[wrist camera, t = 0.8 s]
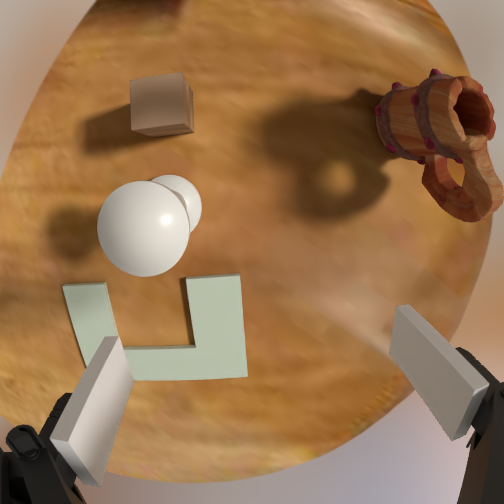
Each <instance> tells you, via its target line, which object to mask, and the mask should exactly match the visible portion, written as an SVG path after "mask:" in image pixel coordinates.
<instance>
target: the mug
mask: <svg viewBox="0 0 504 504" xmlns="http://www.w3.org/2000/svg"><path fill="white" fill-rule="evenodd" d="M374 111H375V114H376V125H377V131H378V133H379V136H380V138H381V140H382V142H383V144H384V145H385V146H386V149H387V151H388V152H390V153H395V154H396V155H397V156H399V157H402V158H404V159H407V160H414V161H417V162H418V163H419V164H422V165H424V164H425V168H424V173H423V176H422V184H423V185H424V186H425V188H426V189H427V190H428V192H429V193H430V194H431V196H432V197H433V198H434V199H435V201H436V202H437V203H438V204H439V206H440V207H441V208H442V209H443V210H445V211H446V212H447V213H449V214H450V215H452V216H453V217H455V218H457V219H460V220H462V221H464V222H477V221H480V220H484V219H485V218H486V217H488V216H489V215H491V214H492V213H493V212H495V211H496V210H497V209H498V208H499V207H500V206H501V205H502V203H503V199H504V190H503V186H502V183H501V181H500V180H499V178H498V176H497V175H496V173H495V172H494V170H493V169H492V167H491V165H490V162H489V159H488V155H487V151H486V146H487V141H488V140H491V139H492V138H493V137H494V133H495V130H496V125H495V122H494V120H493V116H494V109H493V106H492V104H491V102H490V101H489V99H488V96H487V95H486V94H484V93H483V87H482V86H481V84H479V83H478V82H477V81H475V80H474V79H472V78H470V77H466V76H459V77H453V76H450V75H446V74H441V72H440V71H438V70H437V69H432V70H431V72H430V76H429V78H427V79H425V80H424V81H423V82H422V83H420V85H419V86H416V87H413V88H412V87H407V86H402V85H401V84H400V83H399V82H395V83H393V84H392V90H391V91H390V92H388V93H387V94H386V95H385V96H383V98H382V99H381V101H380V103H379V105H377V106H376V107H375V110H374ZM447 158H452V159H454V160H455V161H456V162H457V163H461V164H463V165H464V169H465V176H464V181H463V185H462V187H460V186H459V185H458V184H457V183H456V182H455V181H454V180H453V178H452V177H451V175H450V173H449V171H448V168H447Z"/></svg>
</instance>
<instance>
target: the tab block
mask: <svg viewBox="0 0 504 504" xmlns="http://www.w3.org/2000/svg"><path fill="white" fill-rule="evenodd" d="M130 108H131V130H132V131H135V132H138V133H141V134H144V135H148V136H151V137H159V136H167V135H175V134H184V133H194V114H193V92H192V90H191V88H190V86H189V84H188V82H187V81H186V79H185V77H184V75H183V73H182V72H180V73H172V74H165V75H158V76H152V77H146V78H140V79H134V80H130Z"/></svg>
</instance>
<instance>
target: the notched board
mask: <svg viewBox="0 0 504 504" xmlns="http://www.w3.org/2000/svg"><path fill="white" fill-rule="evenodd" d="M186 284H187V292H188V299H189V306H190V313H191V320H192V326H193V332H194V339H195V345H174V346H122V347H123V350H124V353H125V356H126V359H127V362H128V365H129V368H130V371H131V374H132V377H133V379H134V380H200V379H220V378H235V377H248V373H247V361H246V349H245V336H244V323H243V310H242V297H241V284H240V273H234V274H220V275H207V276H192V277H186ZM62 287H63V291H64V295H65V299H66V302H67V306H68V310H69V313H70V317H71V320H72V324H73V327H74V330H75V334H76V337H77V340H78V343H79V346H80V349H81V352H82V355H83V358H84V361H85V363H86V366H88V365H89V363H90V361H91V359H92V358H93V356H94V354H95V352H96V351H97V349H98V347H99V346H100V344H101V342H102V340H103V339H104V337H105V336H119V335H118V331H117V327H116V323H115V319H114V315H113V311H112V307H111V302H110V298H109V293H108V289H107V284H106V282H94V283H75V284H65V285H63V286H62Z"/></svg>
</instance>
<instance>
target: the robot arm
mask: <svg viewBox="0 0 504 504" xmlns="http://www.w3.org/2000/svg"><path fill="white" fill-rule="evenodd" d="M389 354H390V355H391V356H392V358H393V359H394V360H395V362H396V363H397V365H398V366H399V367H400V369H401V370H402V371H403V373H404V374H405V375H406V377H407V378H408V380H409V381H410V382H411V384H412V385H413V387H414V388H415V389H416V391H417V392H418V394H419V395H420V396H421V398H422V399H423V400H424V402H425V404H426V405H427V406H428V407H429V409H430V411H431V412H432V414H433V415H434V416H435V418H436V419H437V421H438V422H439V424H440V425H441V426H442V428H443V430H444V431H445V433H446V434H447V435H448V437H449V438H450V440H451V441H453V440H455V439H457V438H460V437H462V436H464V435H466V433H467V431H468V430H469V428H470V426H471V425H472V426H473V427H474V429H475V431H474V433H473V435H472V437H471V438H470V440H469V442H468V444H467V446H466V447H467V448H468V447H469V445H470V444H471V447H470V452H469V457H468V462H467V467H466V471H465V475H464V479H463V483H462V487H461V491H460V495H459V498H458V502H457V504H504V382H502V383H500V382H499V381H498V380H497V379H496V378H495V377H494V376H493V375H492V374H491V373H490V372H489V371H488V370H487V369H486V368H485V367H484V366H483V365H481V363H480V362H479V361H478V360H476V358H475V357H474V356H472V354H471V353H469V352H468V351H466V350H464V349H462V348H460V347H458V348H454V347H453V346H452V345H451V344H450V343H449V342H448V341H447V340H446V339H445V338H444V337H443V336H442V335H441V334H440V333H439V332H438V331H437V330H436V329H435V328H434V327H432V326H431V325H430V324H429V323H428V322H427V321H426V320H425V319H424V318H423V317H422V316H421V315H420V314H419V313H418V312H417V311H416V310H414V309H413V308H412V307H411V306H410V305H409V304H407V305H402V306H397V307H396V308H395V316H394V324H393V331H392V337H391V344H390V350H389ZM133 383H134V379H133V377H132V374H131V371H130V368H129V365H128V362H127V359H126V356H125V353H124V350H123V347H122V344H121V341H120V337H119V336H105V337H104V339H103V340H102V342H101V344H100V346H99V347H98V349H97V351H96V352H95V354H94V356H93V358H92V359H91V361H90V363H89V365H88V366H87V368H86V370H85V372H84V374H83V375H82V377H81V379H80V381H79V383H78V384H77V386H76V388H75V390H74V392H73V393H65V394H64V395H63V396H62V397H60V398H59V399H58V400H57V402H56V404H55V406H54V407H53V410H52V411H51V413H50V415H49V417H48V418H47V420H46V422H45V424H44V426H43V428H42V430H41V431H40V433H39V435H38V434H37V433H36V431H35V430H34V428H33V427H31V426H29V425H19V426H16V427H15V428H13V429H12V430H11V431H10V432H9V433H8V435H7V437H6V443H7V445H8V446H9V448H10V449H11V450H12V452H4V451H3V450H2V449H1V448H0V504H86V502H85V500H84V498H83V496H82V494H81V493H80V491H79V489H78V487H77V486H76V485H75V484H74V482H75V479H76V476H77V477H78V478H79V479H80V480H81V482H82V483H83V484H87V485H92V486H98V487H100V486H101V484H102V480H103V477H104V473H105V470H106V467H107V463H108V460H109V457H110V453H111V450H112V447H113V444H114V440H115V437H116V434H117V431H118V428H119V425H120V422H121V419H122V416H123V413H124V410H125V407H126V404H127V401H128V398H129V395H130V392H131V389H132V386H133Z"/></svg>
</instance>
